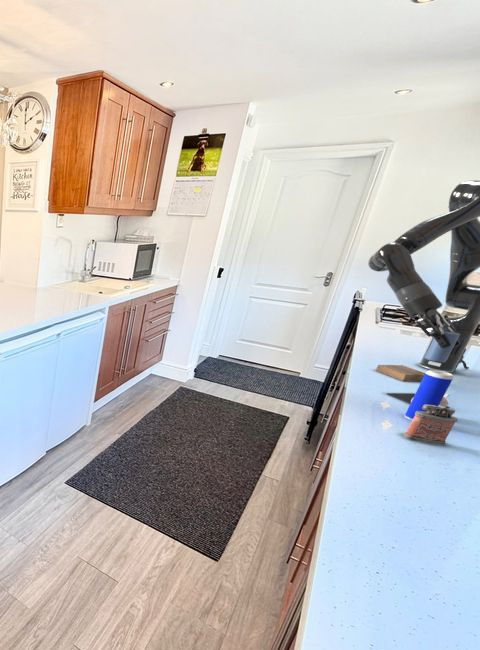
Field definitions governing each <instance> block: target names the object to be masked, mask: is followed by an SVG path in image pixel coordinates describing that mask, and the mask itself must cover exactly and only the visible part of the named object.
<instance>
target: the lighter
mask: <svg viewBox="0 0 480 650" xmlns="http://www.w3.org/2000/svg"><path fill="white" fill-rule="evenodd" d="M422 409H424V410H428V411H427V412H426V411H416V412H415V417H414V419H413V420H411V423H410V424H409V426H408V428H407V430H406V432H404V434H403V437H404V438H406V439H408V440H409V441H410V440H411V441H415V442H420V443H424V444H431V445H432V444H433V445H439V446H444V445H445V444H446V440H447V438H448V437H449V434H450V432H451V431H452V429H453V428H454V426H455V424H456V423H457V422H458V421H459V419H458V418H457V417H456V416H453V415H455V414H456V413H455V412H456V411H457V410H456V409H454V408H450V407H449V408H446V407H444V406H441V405H439V406H434V405H427V404H425V405H423V407H422Z"/></svg>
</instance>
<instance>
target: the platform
mask: <svg viewBox="0 0 480 650" xmlns="http://www.w3.org/2000/svg"><path fill="white" fill-rule="evenodd" d="M375 372H378V373H381V374H383V375H386V376H389V377H391V378H394V379H397V380H398V381H401V382H422V380H423V378H424V376H425V374H426V372H423V371H420V370H417V369H415V368H412V367H409V366H406V365H403V364H378V365H377V367H376V369H375Z"/></svg>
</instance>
